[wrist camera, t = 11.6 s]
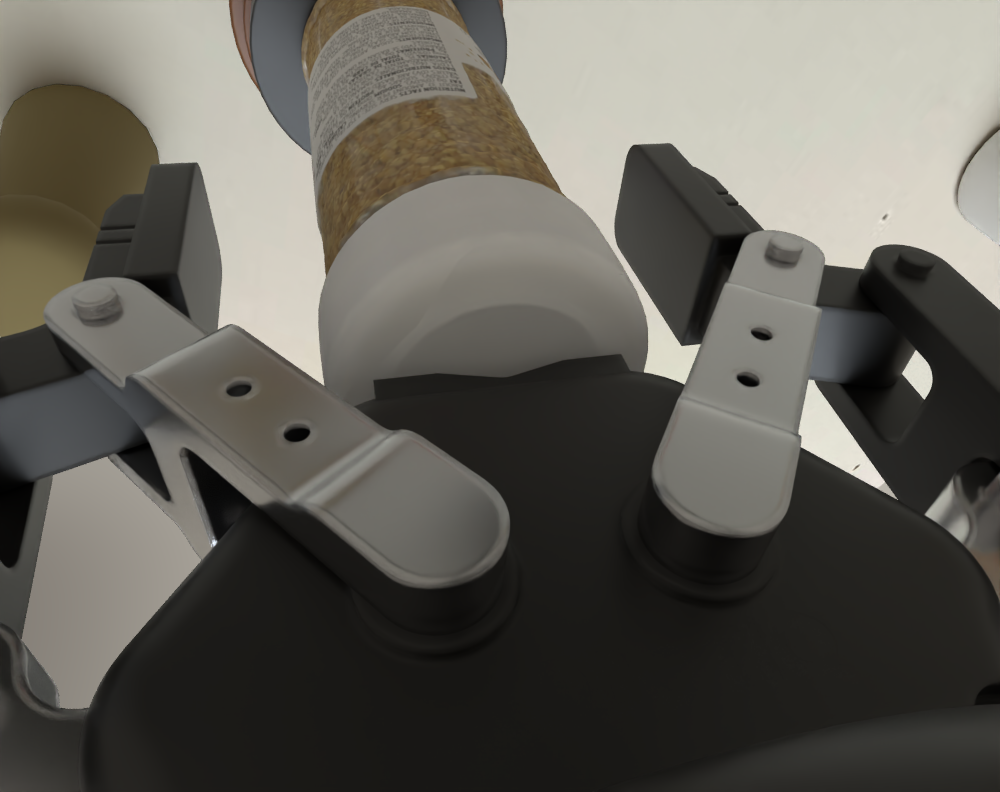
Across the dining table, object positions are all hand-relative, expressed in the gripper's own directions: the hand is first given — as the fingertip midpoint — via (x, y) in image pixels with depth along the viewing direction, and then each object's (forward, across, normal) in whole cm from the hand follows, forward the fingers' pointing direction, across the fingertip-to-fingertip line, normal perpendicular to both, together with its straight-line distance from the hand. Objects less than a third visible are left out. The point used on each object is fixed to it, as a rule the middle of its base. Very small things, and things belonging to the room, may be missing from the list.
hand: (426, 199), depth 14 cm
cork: (+21, +12, +8) cm, 25 cm away
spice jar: (+8, 0, 0) cm, 8 cm away
